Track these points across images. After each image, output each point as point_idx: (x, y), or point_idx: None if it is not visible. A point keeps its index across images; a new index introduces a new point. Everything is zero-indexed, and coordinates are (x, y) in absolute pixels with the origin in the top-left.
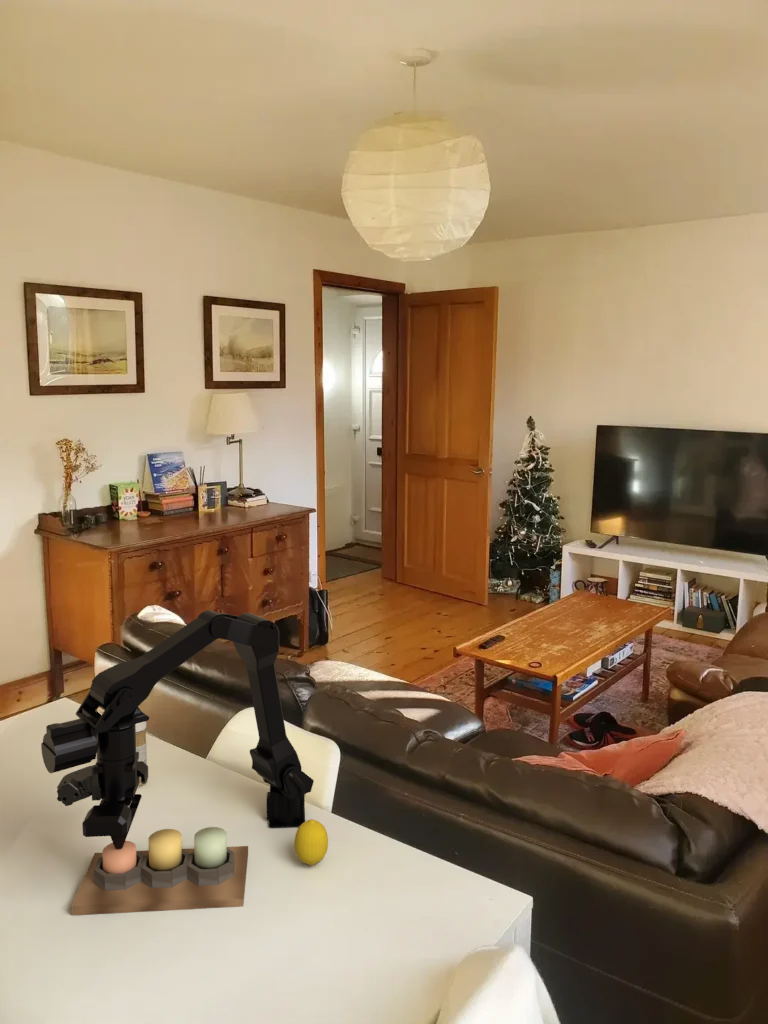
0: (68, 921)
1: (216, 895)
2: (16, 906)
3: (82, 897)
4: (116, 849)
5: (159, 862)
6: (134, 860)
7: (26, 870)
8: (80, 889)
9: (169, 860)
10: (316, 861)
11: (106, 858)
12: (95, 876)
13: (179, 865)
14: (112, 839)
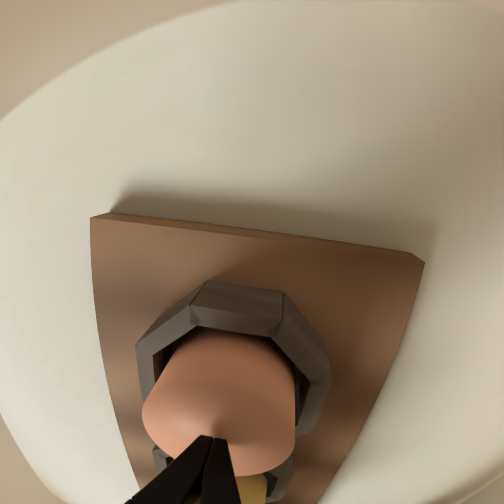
0: (88, 207)
1: (145, 484)
2: (186, 32)
3: (125, 247)
4: (217, 430)
5: None
6: None
7: (395, 29)
8: (173, 233)
9: None
10: None
11: (154, 388)
12: (189, 299)
13: None
14: (160, 472)
